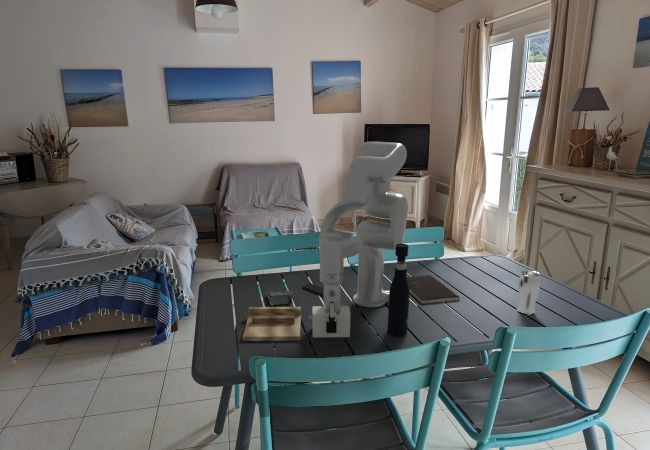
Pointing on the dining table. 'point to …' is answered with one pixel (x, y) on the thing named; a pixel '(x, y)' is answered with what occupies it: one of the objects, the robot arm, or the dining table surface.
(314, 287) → the remote control
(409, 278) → the hardcover book
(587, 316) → the dining table surface
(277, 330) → the cleat board
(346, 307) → the light grey block
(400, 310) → the black bottle
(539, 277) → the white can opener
